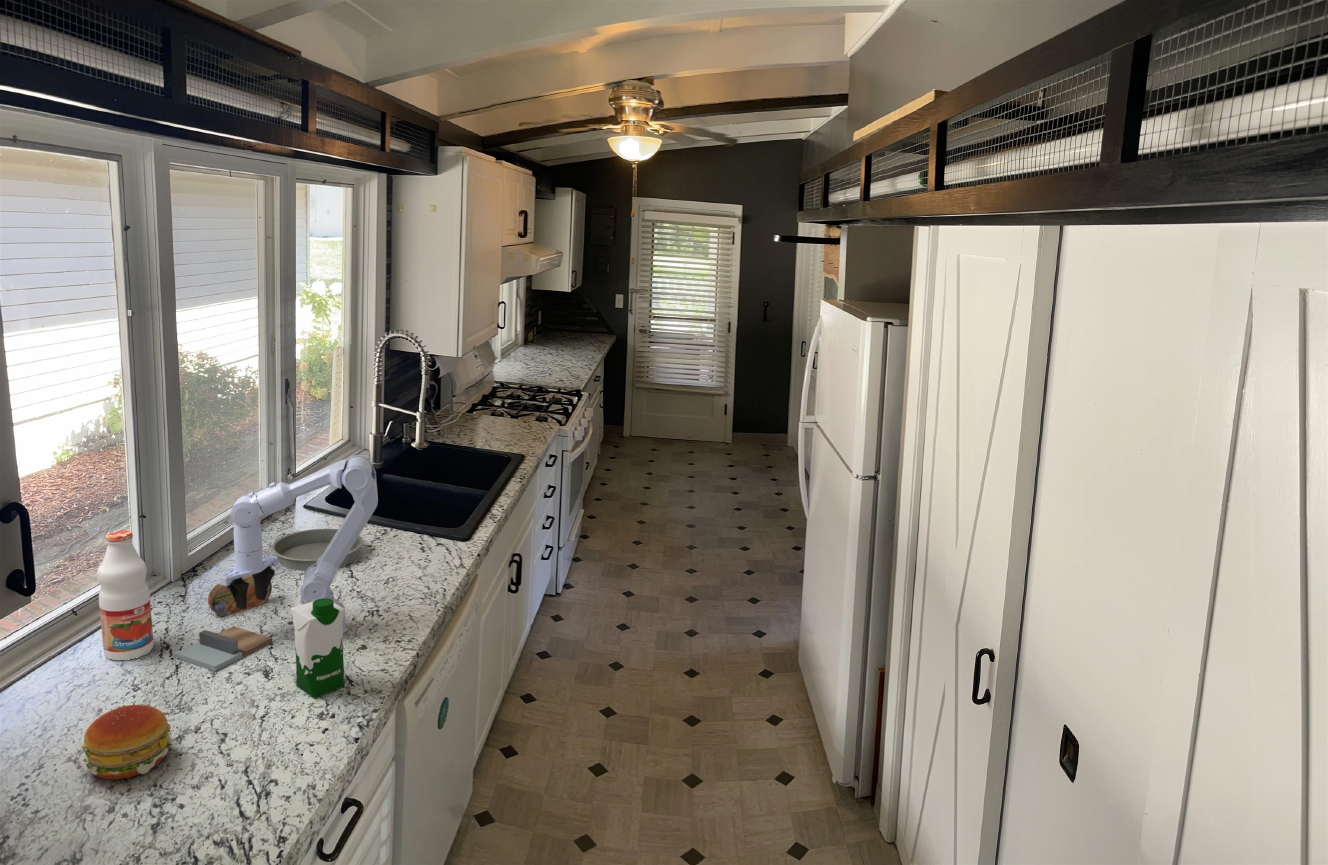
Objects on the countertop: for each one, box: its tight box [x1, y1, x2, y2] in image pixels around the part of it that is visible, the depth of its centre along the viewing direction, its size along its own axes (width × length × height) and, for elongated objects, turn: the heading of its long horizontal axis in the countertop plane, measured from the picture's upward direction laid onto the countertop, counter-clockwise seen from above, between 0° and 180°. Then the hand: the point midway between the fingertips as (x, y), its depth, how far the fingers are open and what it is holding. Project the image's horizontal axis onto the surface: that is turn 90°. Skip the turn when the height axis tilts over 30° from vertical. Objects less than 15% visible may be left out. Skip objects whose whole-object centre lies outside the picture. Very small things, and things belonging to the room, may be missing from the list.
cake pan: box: [271, 528, 364, 572], centre depth 246 cm, size 25×25×4 cm
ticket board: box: [218, 626, 273, 658], centre depth 195 cm, size 12×8×1 cm, turn 68°
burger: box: [81, 704, 173, 780], centre depth 151 cm, size 13×14×10 cm
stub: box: [174, 629, 244, 672], centre depth 188 cm, size 12×7×4 cm, turn 68°
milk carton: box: [291, 598, 345, 699], centre depth 178 cm, size 9×9×20 cm
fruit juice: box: [96, 529, 154, 660], centre depth 185 cm, size 9×9×28 cm
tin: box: [207, 575, 273, 617], centre depth 211 cm, size 15×3×8 cm, turn 143°
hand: (251, 603), depth 197 cm, fingers open, 5 cm apart
